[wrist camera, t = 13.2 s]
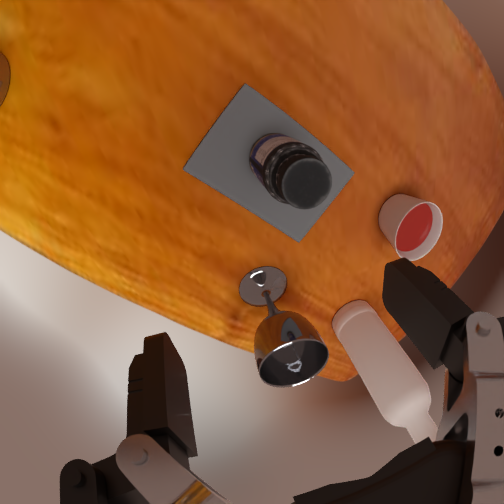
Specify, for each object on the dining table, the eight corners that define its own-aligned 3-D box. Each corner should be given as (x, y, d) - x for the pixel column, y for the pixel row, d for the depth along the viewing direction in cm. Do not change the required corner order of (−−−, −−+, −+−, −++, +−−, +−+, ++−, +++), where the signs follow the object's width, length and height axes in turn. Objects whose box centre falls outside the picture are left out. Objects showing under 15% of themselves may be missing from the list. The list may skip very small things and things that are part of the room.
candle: (360, 220, 42) (384, 240, 37) (398, 174, 40) (426, 189, 34) (391, 250, 46) (413, 270, 41) (425, 209, 44) (450, 225, 38)
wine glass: (278, 311, 47) (310, 387, 35) (229, 305, 45) (249, 387, 32) (297, 268, 44) (341, 341, 31) (246, 259, 41) (275, 337, 29)
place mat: (182, 168, 34) (182, 169, 33) (244, 83, 30) (245, 83, 30) (297, 240, 42) (299, 242, 41) (352, 171, 38) (354, 172, 38)
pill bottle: (297, 180, 37) (337, 215, 27) (248, 184, 36) (273, 221, 26) (298, 131, 34) (341, 149, 24) (246, 132, 33) (272, 151, 23)
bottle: (368, 291, 50) (471, 431, 24) (372, 321, 54) (457, 449, 28) (327, 311, 50) (415, 468, 24) (334, 339, 54) (409, 479, 28)
